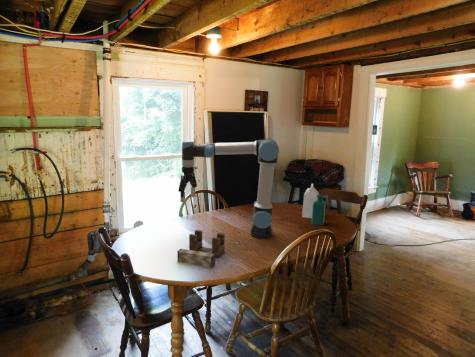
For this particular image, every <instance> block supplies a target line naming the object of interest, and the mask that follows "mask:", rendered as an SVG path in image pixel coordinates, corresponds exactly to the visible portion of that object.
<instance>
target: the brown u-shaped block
mask: <svg viewBox="0 0 475 357" xmlns="http://www.w3.org/2000/svg"><path fill="white" fill-rule="evenodd" d="M225 234H226V233H222V232H217V234H216V237H215V236H213V237H211V247H205V246H203V230H201V229H195V230H194V233H190V234H189V237H188V241H189V243H188V244H189V245H188V248H189V249H188V250H193V251H199V252H205V253H212V254H215V259H216V258H217V259H219V258H220V257H221V256H222V255H223V254H224V253H225V241H226V240H225V236H226V235H225Z"/></svg>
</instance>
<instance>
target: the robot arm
mask: <svg viewBox="0 0 475 357" xmlns="http://www.w3.org/2000/svg"><path fill="white" fill-rule="evenodd" d="M279 153H280V147H279V145H278V143H277V141H276V140H274V139H272V138H265V139H257V140H256V139H255V141H241V142H237V141H236V142H206V143H204V144H195V142H194V141H193V140H183V141H182V143H181V172H182V173H183V175H182V174H181V175H180V182H179V186H178V190H177V191H178V192H180V203H186V192H185V191H186V187H187V185H188V183H189V184H190V186H191V187H190V197H191V198H196V188H197V187H198V184H197V179H196V173H195V158H206V159H209V158H210V159H211V158H213V157H214V156H215V155H252V154H253V155H255V156H258V157H257V162H258V164H259V174H258V185H257V195H256V196H257V198H256V201H254V203H253V213H252V214H253V215H252V225H251V228H250V232H249V233H250V236H251V237H253V238H257V239H269V238H272V237H273V235H274V232H273V228H272V222H273V211H274V210H273V209H274V206H273V205H272V195H273V194H272V193H273V185H274V184H273V182H274V172H275V167H276V165H277V164H278V160H279V159H278V158H279Z"/></svg>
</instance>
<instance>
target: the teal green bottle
mask: <svg viewBox="0 0 475 357" xmlns="http://www.w3.org/2000/svg"><path fill="white" fill-rule="evenodd" d="M316 196H317V200H316V201H314V203H313V210H312V218H311V225H314V226H320V225H322V226H323V225H324V223H325V217H326V216H325V213H326V204H327V202H328V198H329V195H327V194H326V195H321V194H319V195H316ZM323 199H325V200H323Z"/></svg>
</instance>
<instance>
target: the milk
mask: <svg viewBox="0 0 475 357" xmlns="http://www.w3.org/2000/svg"><path fill="white" fill-rule="evenodd" d="M316 195H320V194H319V191H318V190H317V189H316V188H315V186H314V183H311V184H310V187H307V189H306V190H305V192H304V194H303V204H302V211H301V212H302V213H301V217H302V218H307V219H312V210H313V203H314V201H316V200H317V196H316Z"/></svg>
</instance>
